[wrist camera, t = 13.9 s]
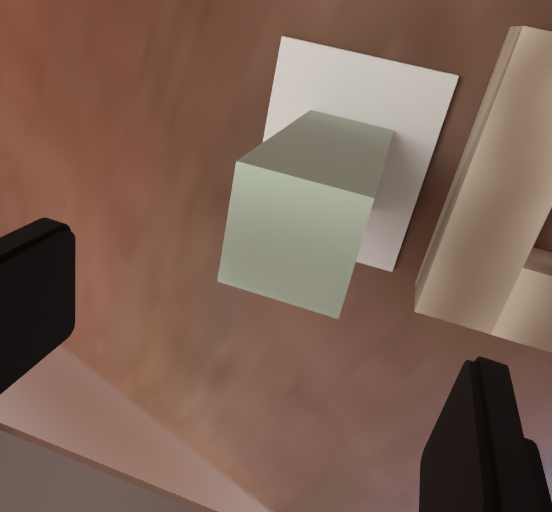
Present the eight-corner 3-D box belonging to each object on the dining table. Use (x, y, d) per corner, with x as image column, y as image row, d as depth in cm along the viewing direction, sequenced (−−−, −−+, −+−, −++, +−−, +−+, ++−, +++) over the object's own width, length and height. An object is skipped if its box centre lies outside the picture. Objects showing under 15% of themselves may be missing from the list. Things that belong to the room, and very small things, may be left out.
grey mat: (458, 75, 24) (459, 76, 24) (392, 267, 29) (392, 272, 29) (284, 36, 26) (281, 35, 25) (250, 226, 31) (246, 229, 30)
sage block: (394, 130, 26) (374, 198, 15) (370, 209, 28) (338, 319, 17) (310, 109, 26) (236, 161, 16) (293, 188, 28) (217, 281, 18)
